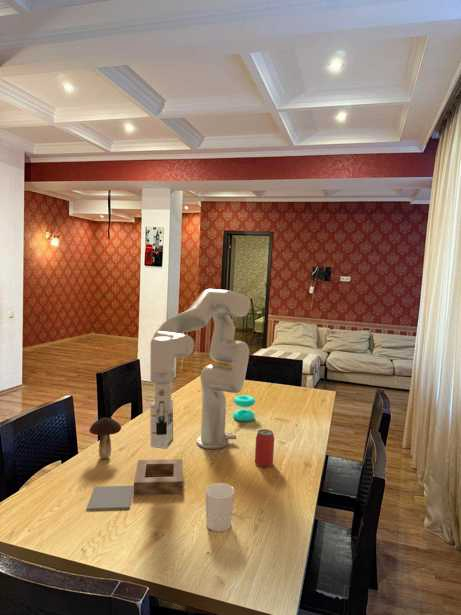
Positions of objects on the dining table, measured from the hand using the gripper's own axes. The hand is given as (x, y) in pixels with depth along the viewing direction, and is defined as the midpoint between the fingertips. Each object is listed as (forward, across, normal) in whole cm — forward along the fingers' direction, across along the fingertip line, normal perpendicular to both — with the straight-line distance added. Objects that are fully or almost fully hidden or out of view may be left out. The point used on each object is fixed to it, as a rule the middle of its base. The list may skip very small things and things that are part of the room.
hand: (161, 428), depth 139 cm
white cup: (+18, -25, -16) cm, 35 cm away
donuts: (+20, +56, -36) cm, 70 cm away
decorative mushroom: (+18, +17, +21) cm, 32 cm away
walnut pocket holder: (+18, -1, +1) cm, 18 cm away
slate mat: (+17, -10, +15) cm, 25 cm away
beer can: (+19, +10, -36) cm, 42 cm away
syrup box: (+6, 0, 0) cm, 6 cm away
